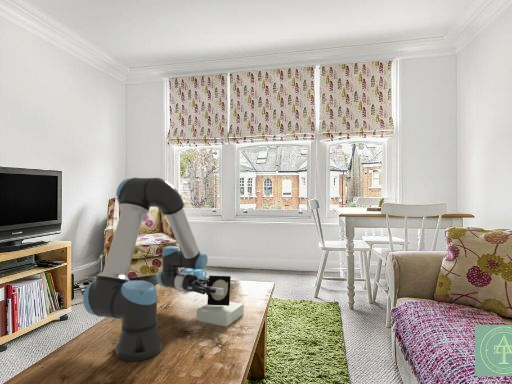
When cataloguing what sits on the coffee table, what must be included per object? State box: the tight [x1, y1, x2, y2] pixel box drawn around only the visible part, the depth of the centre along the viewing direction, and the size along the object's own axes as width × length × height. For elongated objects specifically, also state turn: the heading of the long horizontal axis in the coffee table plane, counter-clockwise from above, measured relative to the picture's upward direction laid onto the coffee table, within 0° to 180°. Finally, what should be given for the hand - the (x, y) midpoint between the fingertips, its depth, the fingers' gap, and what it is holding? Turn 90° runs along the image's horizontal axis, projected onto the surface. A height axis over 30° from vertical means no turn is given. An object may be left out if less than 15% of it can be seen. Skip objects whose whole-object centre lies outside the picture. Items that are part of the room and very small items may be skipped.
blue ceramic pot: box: [181, 268, 208, 279], centre depth 194 cm, size 13×14×11 cm
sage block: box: [196, 301, 245, 327], centre depth 146 cm, size 15×15×5 cm
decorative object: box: [206, 275, 232, 306], centre depth 146 cm, size 12×10×10 cm
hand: (228, 288), depth 144 cm, fingers closed on decorative object, 9 cm apart
